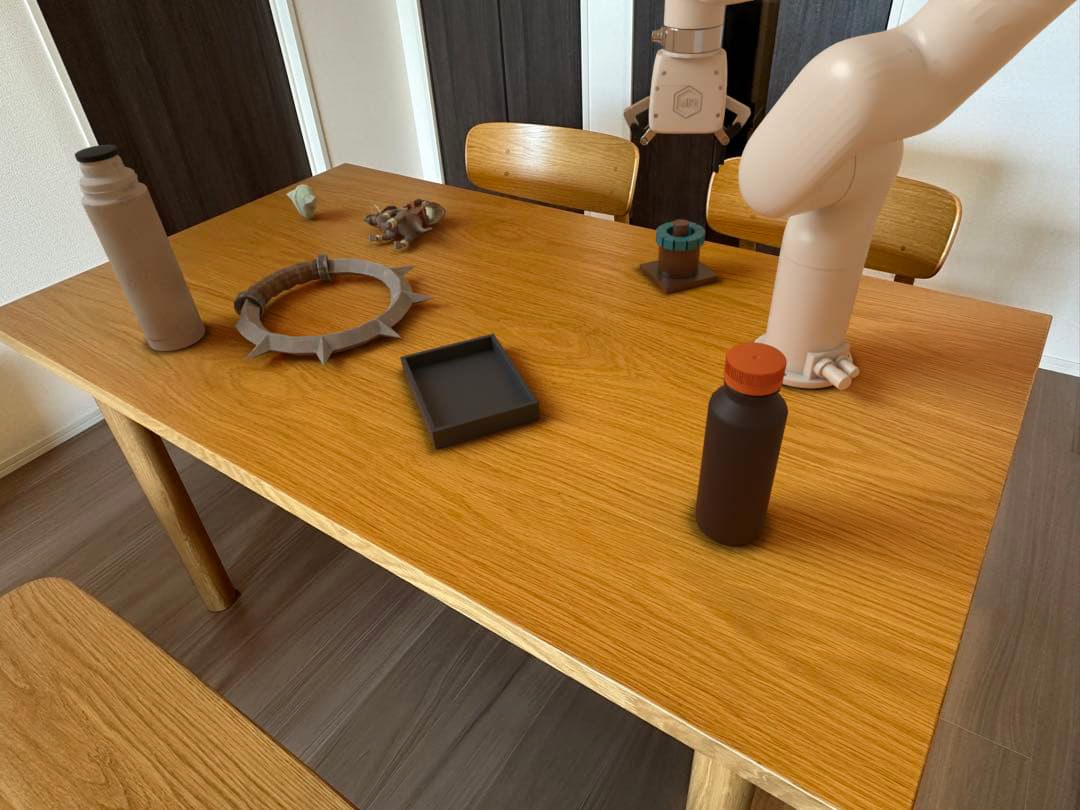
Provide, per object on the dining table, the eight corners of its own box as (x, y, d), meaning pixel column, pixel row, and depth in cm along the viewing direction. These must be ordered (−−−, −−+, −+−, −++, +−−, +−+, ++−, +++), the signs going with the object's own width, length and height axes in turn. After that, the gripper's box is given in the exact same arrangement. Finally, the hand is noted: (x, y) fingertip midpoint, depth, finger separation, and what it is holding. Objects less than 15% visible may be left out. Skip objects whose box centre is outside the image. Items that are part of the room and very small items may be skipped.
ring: (713, 244, 106) (714, 235, 105) (671, 255, 104) (671, 245, 103) (688, 227, 112) (689, 217, 111) (647, 236, 110) (647, 226, 109)
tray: (539, 419, 85) (538, 402, 83) (435, 449, 81) (431, 432, 80) (495, 348, 97) (493, 333, 96) (403, 372, 94) (400, 356, 92)
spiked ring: (183, 336, 104) (311, 411, 90) (173, 310, 101) (302, 383, 87) (353, 252, 124) (479, 301, 110) (348, 228, 122) (477, 276, 107)
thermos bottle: (138, 343, 104) (46, 155, 87) (183, 318, 109) (105, 136, 92) (171, 356, 100) (82, 163, 83) (216, 330, 106) (141, 143, 88)
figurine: (334, 211, 127) (396, 181, 138) (343, 242, 130) (402, 211, 141) (417, 223, 117) (476, 190, 128) (424, 257, 120) (481, 222, 132)
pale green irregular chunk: (289, 217, 139) (280, 184, 135) (306, 210, 142) (297, 178, 138) (314, 226, 135) (305, 192, 131) (331, 218, 138) (322, 185, 133)
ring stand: (717, 281, 109) (723, 227, 104) (666, 293, 107) (670, 239, 101) (687, 258, 116) (691, 206, 110) (639, 269, 114) (641, 217, 108)
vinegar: (762, 553, 67) (799, 386, 54) (691, 540, 68) (711, 376, 56) (764, 502, 72) (798, 340, 59) (697, 492, 73) (717, 332, 61)
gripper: (623, 47, 89) (620, 179, 100) (763, 44, 86) (744, 179, 97) (626, 35, 95) (623, 160, 105) (757, 32, 92) (740, 160, 103)
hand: (681, 169), depth 101 cm, fingers open, 9 cm apart
